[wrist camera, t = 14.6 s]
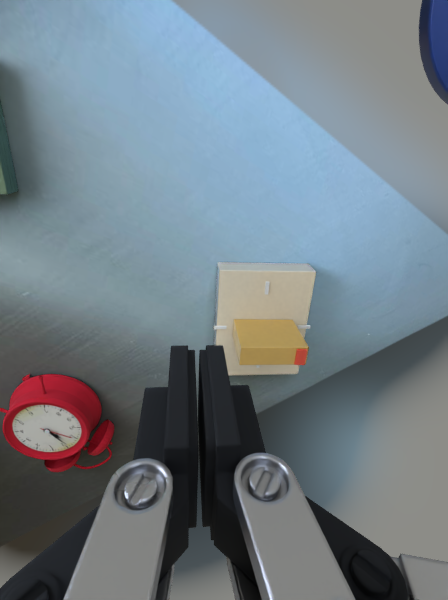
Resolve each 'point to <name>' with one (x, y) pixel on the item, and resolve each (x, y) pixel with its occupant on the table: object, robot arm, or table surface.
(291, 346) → the tan block
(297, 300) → the dial base plate
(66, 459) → the alarm clock
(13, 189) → the button block
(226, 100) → the table surface
